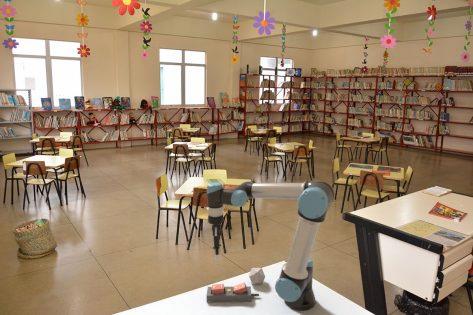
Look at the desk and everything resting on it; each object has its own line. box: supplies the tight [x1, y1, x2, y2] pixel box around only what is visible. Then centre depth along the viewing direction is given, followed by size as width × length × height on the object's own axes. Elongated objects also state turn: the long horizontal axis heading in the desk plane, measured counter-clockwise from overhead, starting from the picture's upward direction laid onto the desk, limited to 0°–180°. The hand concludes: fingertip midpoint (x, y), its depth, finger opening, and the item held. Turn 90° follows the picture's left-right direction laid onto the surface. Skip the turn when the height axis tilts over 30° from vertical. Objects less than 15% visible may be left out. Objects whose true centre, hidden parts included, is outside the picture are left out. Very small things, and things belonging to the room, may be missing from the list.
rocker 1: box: [211, 283, 225, 294], centre depth 186 cm, size 6×4×2 cm
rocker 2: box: [233, 282, 247, 294], centre depth 186 cm, size 6×4×2 cm
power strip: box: [206, 285, 260, 303], centre depth 186 cm, size 26×8×4 cm, turn 90°
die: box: [248, 267, 266, 285], centre depth 199 cm, size 8×9×10 cm
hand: (217, 259), depth 184 cm, fingers closed
